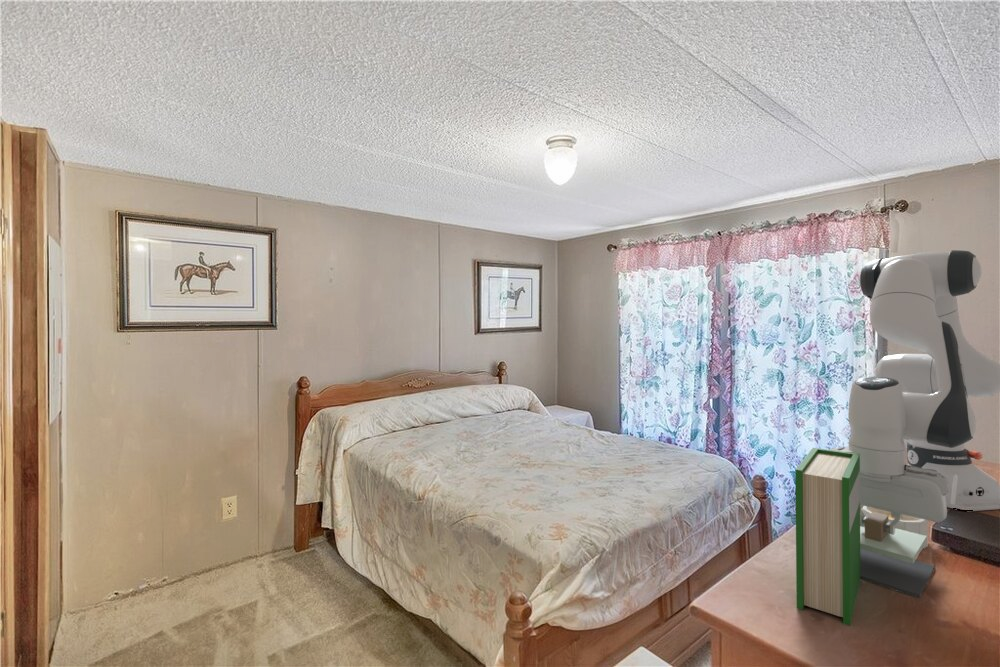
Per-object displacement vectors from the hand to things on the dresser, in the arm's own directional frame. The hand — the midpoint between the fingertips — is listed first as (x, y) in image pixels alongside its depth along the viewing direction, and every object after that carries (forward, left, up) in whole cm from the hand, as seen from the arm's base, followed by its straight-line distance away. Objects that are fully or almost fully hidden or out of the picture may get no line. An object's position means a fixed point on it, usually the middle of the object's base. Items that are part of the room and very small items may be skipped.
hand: (876, 529), depth 94 cm
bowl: (-12, -13, -8) cm, 19 cm away
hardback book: (+14, +10, -8) cm, 19 cm away
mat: (0, 0, -8) cm, 8 cm away
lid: (0, 0, -2) cm, 2 cm away
